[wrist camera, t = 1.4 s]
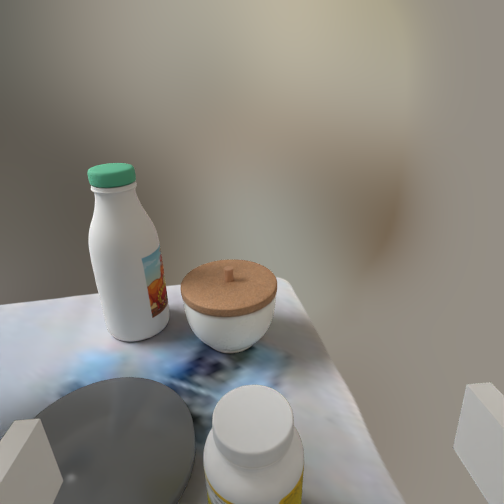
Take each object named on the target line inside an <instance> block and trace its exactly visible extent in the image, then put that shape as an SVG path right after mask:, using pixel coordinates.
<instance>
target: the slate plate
mask: <svg viewBox="0 0 504 504" xmlns="http://www.w3.org/2000/svg"><path fill="white" fill-rule="evenodd" d="M34 419H40V420H41V422H42V425H43V428H44V430H45V433H46V436H47V438H48V441H49V444H50V446H51V449H52V452H53V454H54V457H55V460H56V462H57V465H58V468H59V470H60V473H61V476H62V478H63V482H62V485H61V487H60V489H59V491H58V494H57V496H56V498H55V500H54V502H53V504H176V503H177V502H178V501H179V499H180V497H181V495H182V493H183V492H184V490H185V488H186V486H187V483H188V481H189V478H190V476H191V472H192V469H193V465H194V460H195V452H196V447H195V433H194V426H193V420H192V417H191V414H190V411H189V409H188V407H187V405H186V403H185V402H184V401H183V400H182V398H181V397H180V396H179V395H178V394H177V393H176V392H175V391H173V390H172V389H170V388H169V387H167V386H165V385H163V384H161V383H159V382H156V381H153V380H149V379H144V378H134V377H126V378H115V379H109V380H104V381H100V382H97V383H93V384H90V385H87V386H85V387H82V388H80V389H78V390H75V391H73V392H71V393H69V394H67V395H66V396H64V397H62V398H60V399H59V400H57V401H56V402H54V403H53V404H51V405H50V406H48V407H47V408H46V409H44V410H43V411H42V412H41V413H39V414H38V415H37V416H36V417H35V418H34Z"/></svg>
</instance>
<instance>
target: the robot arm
mask: <svg viewBox="0 0 504 504" xmlns="http://www.w3.org/2000/svg"><path fill="white" fill-rule="evenodd" d="M453 449H454V450H455V452H456V453H457V455H458V457H459V458H460V460H461V461H462V463H463V464H464V466H465V467H466V469H467V471H468V472H469V474H470V475H471V477H472V478H473V480H474V482H475V483H476V485H477V486H478V488H479V489H480V491H481V493H482V494H483V496H484V497H485V499H486V500H487V502H488V503H489V504H504V396H503V395H502V394H501V393H500V392H499V391H498V389H497V388H496V387H495V386H494V385H493V384H492V383H491V382H490V383H479V384H478V383H477V384H467V385H466V390H465V395H464V399H463V404H462V409H461V413H460V418H459V422H458V427H457V432H456V437H455V441H454V446H453ZM62 482H63V478H62V476H61V473H60V470H59V468H58V465H57V462H56V460H55V457H54V454H53V452H52V449H51V446H50V444H49V441H48V438H47V436H46V433H45V430H44V428H43V425H42V422H41V420H40V419H27V420H15V421H14V422H13V423H12V425H11V426H10V428H9V429H8V431H7V432H6V434H5V435H4V436H3V438H2V439H1V441H0V504H53V502H54V500H55V498H56V496H57V494H58V491H59V489H60V487H61V485H62Z"/></svg>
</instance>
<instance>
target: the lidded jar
mask: <svg viewBox="0 0 504 504" xmlns="http://www.w3.org/2000/svg"><path fill="white" fill-rule="evenodd" d="M276 292H277V280H276V277H275V276H274V274H273V273H272V272H271V271H270V270H269V269H267V268H266V267H264V266H262V265H260V264H257V263H254V262H250V261H245V260H220V261H214V262H210V263H207V264H203V265H201V266H199V267H197V268H195V269H193V270H192V271H190V272H189V273H188V274H187V275H186V276H185V277H184V279H183V281H182V283H181V295H182V298H183V303H184V309H185V313H186V317H187V320H188V323H189V325H190V327H191V329H192V331H193V332H194V334H195V335H196V336H197V337H198V338H199V339H200V340H201V341H202V342H204V343H205V344H207V345H208V346H210V347H211V348H213V349H214V350H216V351H219V352H223V353H238V352H241V351H244V350H246V349H248V348H250V347H251V346H252V345H253V344H254V343H255V342H257V341H258V340H259V339H260V338H261V337H262V336H263V335H264V334H265V333H266V331H267V330H268V328H269V326H270V324H271V322H272V318H273V315H274V310H275V302H276Z"/></svg>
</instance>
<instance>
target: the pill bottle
mask: <svg viewBox="0 0 504 504" xmlns="http://www.w3.org/2000/svg"><path fill="white" fill-rule="evenodd" d="M203 463H204V472H205V479H206V488H207V496H208V503H209V504H301V497H302V483H303V470H304V450H303V445H302V441H301V438H300V436H299V434H298V432H297V430H296V428H295V427H294V417H293V412H292V409H291V406H290V404H289V403H288V401H287V400H286V399H285V397H284V396H283V395H281V394H280V393H279V392H277V391H276V390H274V389H272V388H269V387H266V386H262V385H246V386H241V387H238V388H236V389H233V390H231V391H230V392H228V393H227V394H225V395H224V396H223V397H222V398H221V399H220V400H219V402H218V403H217V405H216V407H215V409H214V412H213V418H212V429H211V431H210V433H209V435H208V437H207V439H206V442H205V447H204V457H203Z"/></svg>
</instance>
